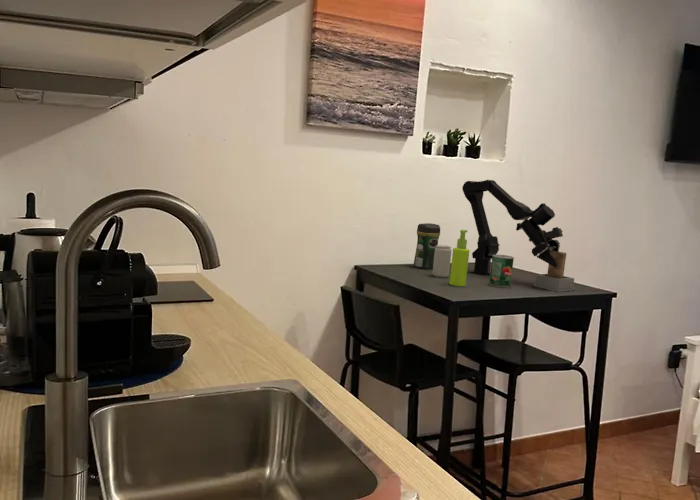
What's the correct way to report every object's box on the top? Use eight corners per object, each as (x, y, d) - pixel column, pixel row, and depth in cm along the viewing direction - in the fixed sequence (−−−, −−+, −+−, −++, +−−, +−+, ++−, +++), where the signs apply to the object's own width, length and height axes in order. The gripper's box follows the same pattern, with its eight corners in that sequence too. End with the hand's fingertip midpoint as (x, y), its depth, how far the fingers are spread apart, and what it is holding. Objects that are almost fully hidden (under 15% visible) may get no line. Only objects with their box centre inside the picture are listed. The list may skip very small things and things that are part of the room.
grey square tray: (558, 291, 237) (560, 279, 236) (533, 285, 245) (534, 274, 244) (574, 290, 244) (576, 278, 243) (549, 284, 252) (551, 273, 251)
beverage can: (449, 278, 245) (453, 247, 244) (433, 277, 245) (436, 246, 244) (447, 275, 252) (450, 245, 250) (431, 274, 252) (434, 244, 250)
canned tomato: (509, 288, 236) (513, 258, 234) (488, 285, 238) (491, 256, 236) (510, 284, 243) (514, 256, 242) (489, 282, 245) (493, 253, 244)
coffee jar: (427, 265, 273) (432, 222, 271) (439, 269, 267) (444, 224, 264) (410, 266, 268) (414, 222, 265) (422, 269, 261) (426, 224, 259)
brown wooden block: (545, 285, 244) (550, 251, 242) (548, 284, 247) (553, 250, 245) (559, 287, 241) (563, 253, 239) (561, 286, 244) (566, 252, 243)
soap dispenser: (467, 284, 236) (473, 230, 234) (464, 287, 230) (470, 231, 227) (451, 281, 238) (457, 228, 236) (447, 284, 232) (453, 230, 229)
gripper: (544, 220, 235) (570, 254, 231) (557, 219, 251) (582, 251, 247) (520, 238, 240) (546, 272, 236) (535, 236, 256) (559, 267, 252)
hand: (559, 265), depth 242 cm, fingers open, 9 cm apart
